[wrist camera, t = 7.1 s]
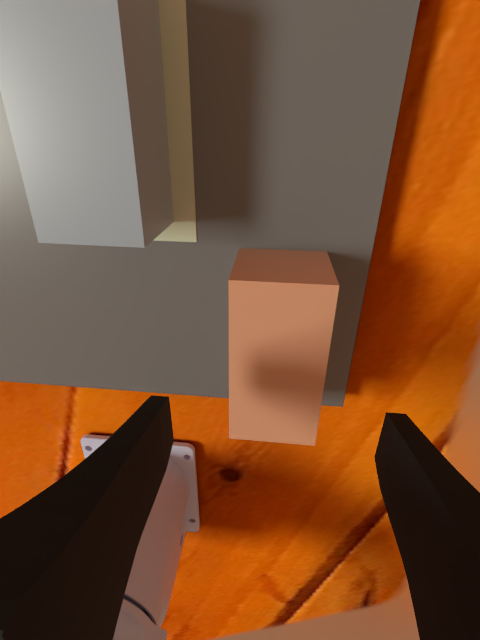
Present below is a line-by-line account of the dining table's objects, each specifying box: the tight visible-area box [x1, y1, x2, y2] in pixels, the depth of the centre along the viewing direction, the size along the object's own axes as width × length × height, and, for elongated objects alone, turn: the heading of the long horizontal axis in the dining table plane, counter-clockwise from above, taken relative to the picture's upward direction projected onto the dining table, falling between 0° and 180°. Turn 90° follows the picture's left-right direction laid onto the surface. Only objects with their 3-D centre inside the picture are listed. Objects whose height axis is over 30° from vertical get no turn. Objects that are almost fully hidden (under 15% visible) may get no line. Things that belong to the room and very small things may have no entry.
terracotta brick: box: [229, 248, 339, 446], centre depth 17 cm, size 8×4×4 cm, turn 179°
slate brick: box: [0, 0, 174, 248], centre depth 13 cm, size 8×4×4 cm, turn 179°
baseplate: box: [0, 0, 420, 407], centre depth 17 cm, size 19×23×1 cm
